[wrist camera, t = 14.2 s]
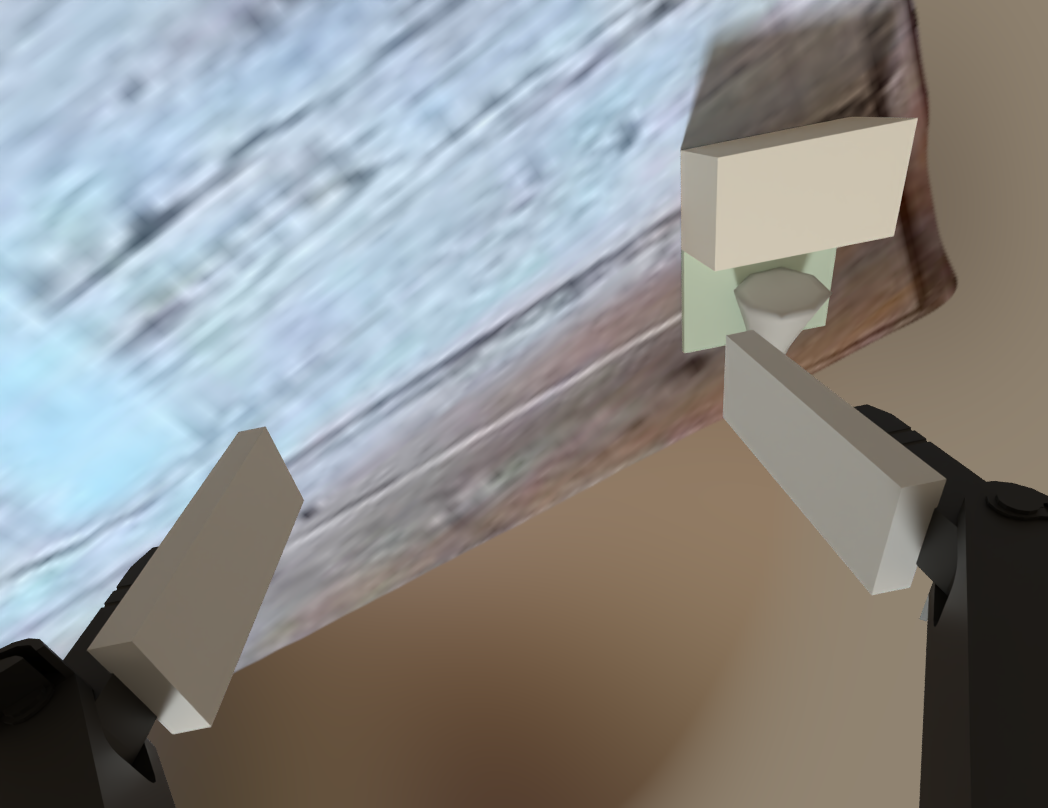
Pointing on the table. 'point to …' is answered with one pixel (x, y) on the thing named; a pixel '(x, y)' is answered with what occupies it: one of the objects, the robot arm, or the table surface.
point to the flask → (780, 303)
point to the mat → (715, 304)
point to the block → (794, 190)
